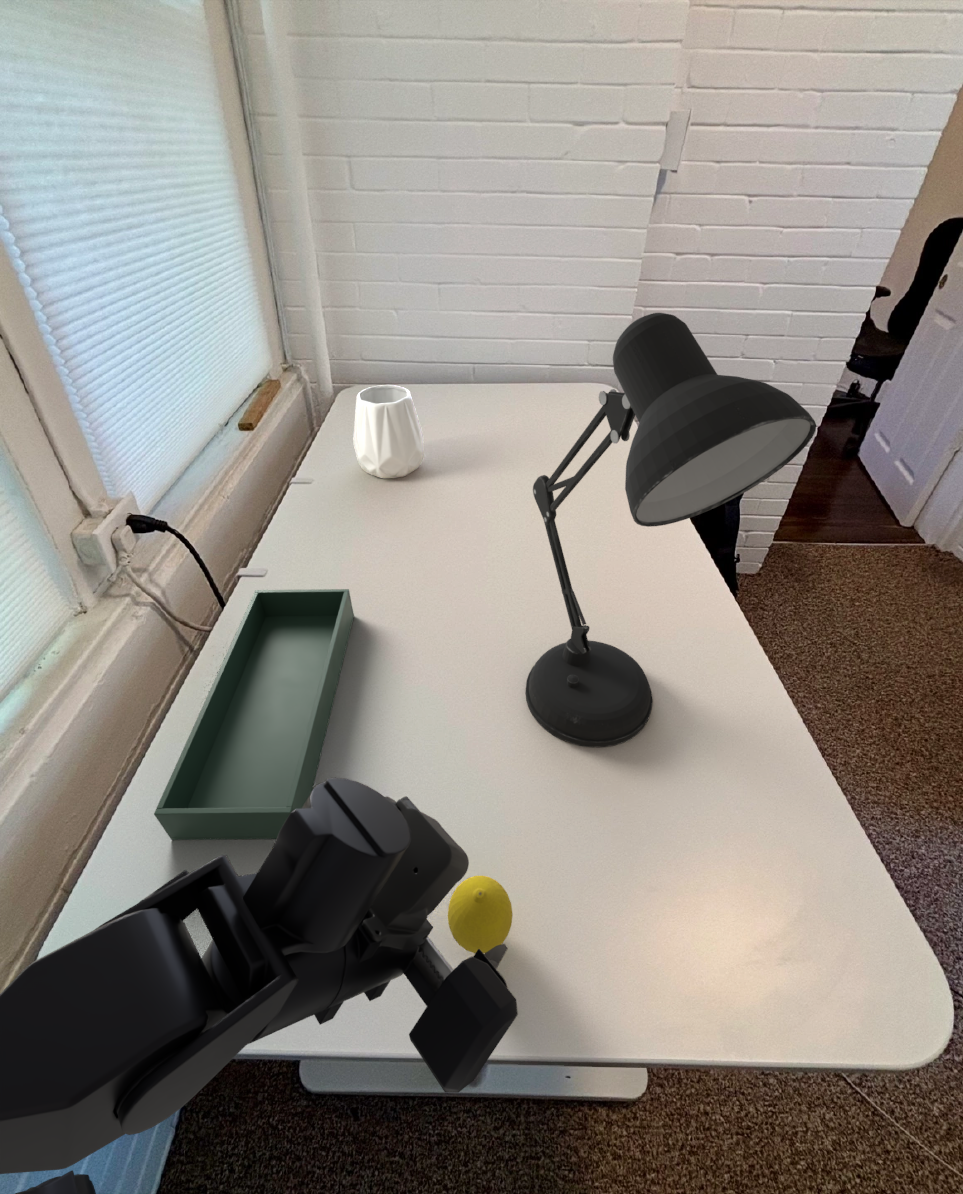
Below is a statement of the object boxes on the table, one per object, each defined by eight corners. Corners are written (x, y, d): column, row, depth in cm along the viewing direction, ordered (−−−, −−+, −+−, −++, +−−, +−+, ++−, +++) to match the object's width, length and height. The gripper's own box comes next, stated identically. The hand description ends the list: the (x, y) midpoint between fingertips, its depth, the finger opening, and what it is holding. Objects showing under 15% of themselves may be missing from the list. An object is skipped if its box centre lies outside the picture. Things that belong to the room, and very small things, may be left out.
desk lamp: (677, 824, 61) (850, 395, 32) (453, 740, 69) (429, 338, 40) (710, 666, 78) (842, 293, 49) (527, 613, 86) (547, 267, 57)
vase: (358, 486, 115) (346, 411, 106) (355, 454, 126) (345, 383, 116) (430, 479, 117) (424, 405, 108) (421, 448, 128) (416, 378, 118)
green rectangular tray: (300, 838, 60) (290, 812, 57) (171, 840, 60) (153, 814, 57) (354, 615, 86) (348, 588, 83) (263, 616, 86) (255, 589, 83)
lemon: (489, 981, 50) (489, 944, 45) (437, 942, 52) (432, 902, 47) (522, 923, 54) (526, 883, 48) (472, 889, 56) (471, 847, 51)
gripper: (494, 982, 27) (612, 914, 40) (298, 738, 38) (440, 745, 51) (374, 1163, 29) (526, 1040, 41) (217, 876, 39) (376, 849, 52)
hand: (462, 902), depth 46 cm, fingers open, 9 cm apart
